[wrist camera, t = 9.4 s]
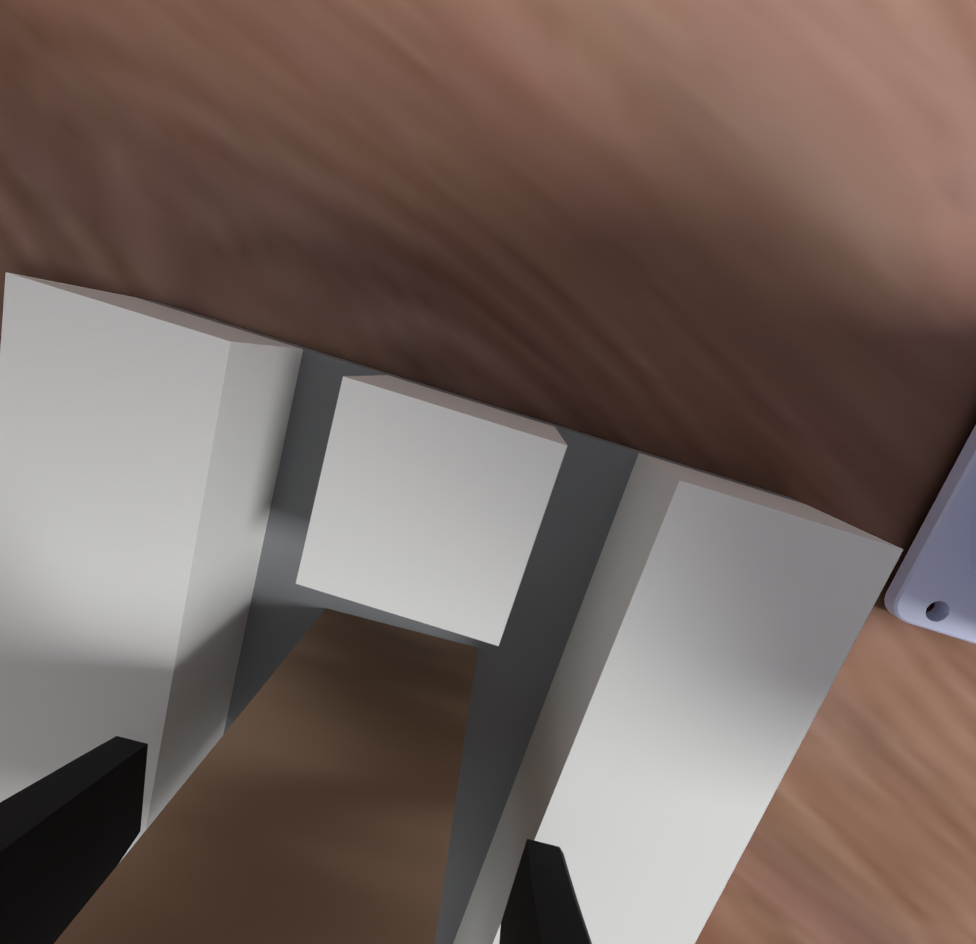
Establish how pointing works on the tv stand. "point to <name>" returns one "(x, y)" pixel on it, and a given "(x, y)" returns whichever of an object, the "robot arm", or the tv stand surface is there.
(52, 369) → the socket block
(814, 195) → the tv stand surface
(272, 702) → the walnut pin
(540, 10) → the tv stand surface
